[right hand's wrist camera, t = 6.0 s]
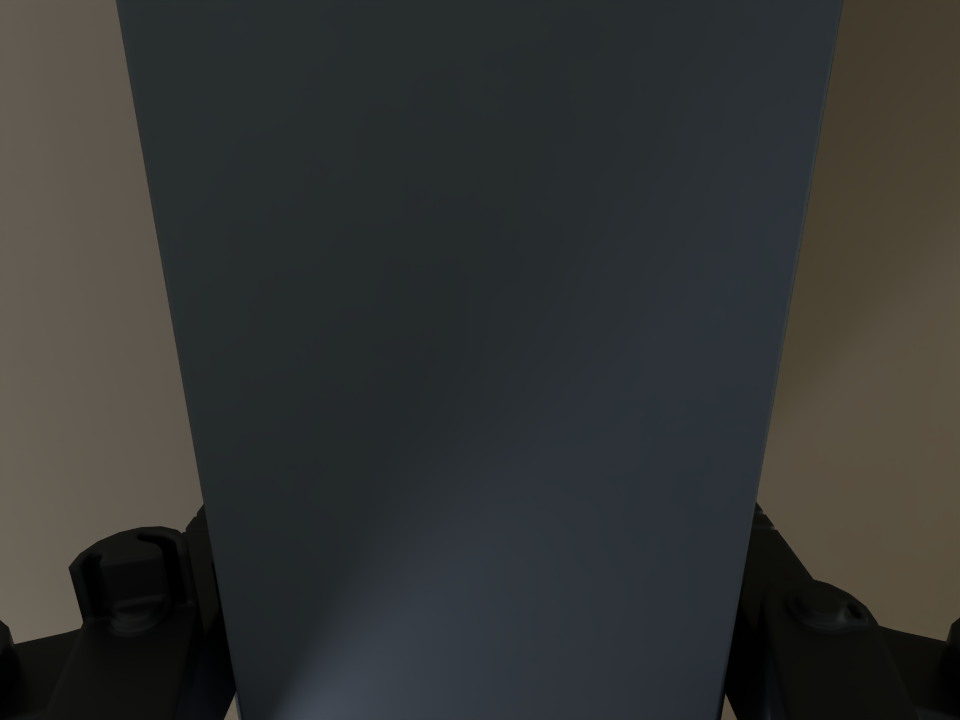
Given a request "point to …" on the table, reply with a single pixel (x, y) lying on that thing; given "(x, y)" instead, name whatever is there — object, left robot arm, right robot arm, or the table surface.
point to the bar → (479, 334)
